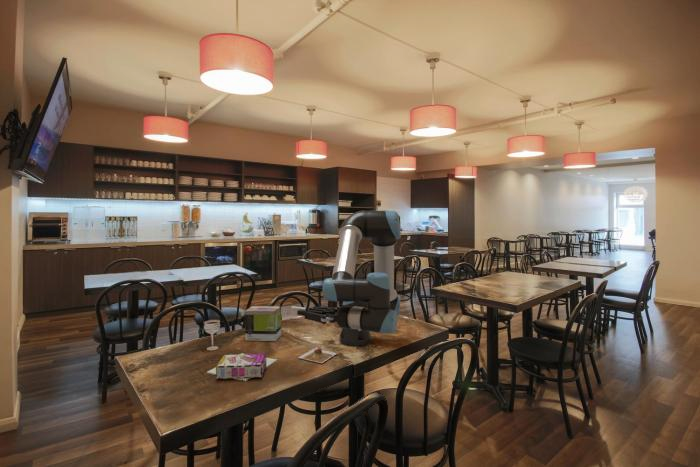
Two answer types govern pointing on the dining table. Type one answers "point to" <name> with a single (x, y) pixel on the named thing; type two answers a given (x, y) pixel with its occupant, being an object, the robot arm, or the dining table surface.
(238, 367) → the candy bar box
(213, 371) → the mat
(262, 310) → the tea box
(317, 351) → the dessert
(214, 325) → the wineglass
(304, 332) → the dining table surface
